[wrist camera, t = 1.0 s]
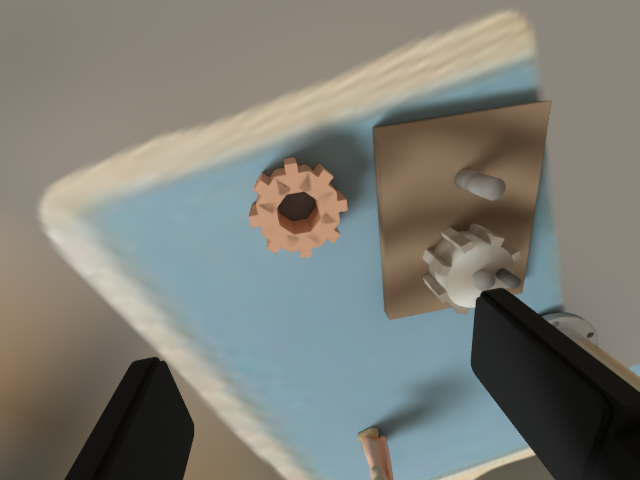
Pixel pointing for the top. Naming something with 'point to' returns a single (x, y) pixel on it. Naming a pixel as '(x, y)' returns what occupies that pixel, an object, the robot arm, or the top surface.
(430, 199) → the gear board
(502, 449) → the top surface
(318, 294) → the top surface
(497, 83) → the top surface
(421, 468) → the top surface
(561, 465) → the robot arm
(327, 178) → the terracotta gear
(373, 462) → the grandmother figurine
